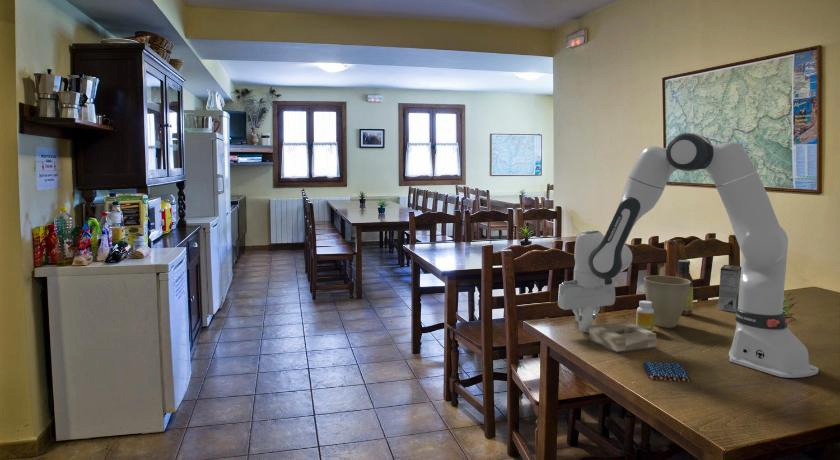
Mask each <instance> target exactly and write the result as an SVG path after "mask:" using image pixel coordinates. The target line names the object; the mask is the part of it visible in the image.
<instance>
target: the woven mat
mask: <svg viewBox="0 0 840 460" xmlns="http://www.w3.org/2000/svg"><path fill="white" fill-rule="evenodd" d="M642 368H643V369H644V372H645V373H646V374H647V377H648V378H649V379H650V380H653V379H655V380H664V381H667V379H668V381H673V382H674V381H678V382H680V381H682V382H690V380H692V379H691V376H689V373H688V372H687V371H686V369H685V368H684V367H683V365H682V364H681V363H670V362H668V363H667V362H659V361H658V362H653V361H651V362H650V361H644V362H642Z"/></svg>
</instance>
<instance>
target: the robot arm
mask: <svg viewBox="0 0 840 460" xmlns="http://www.w3.org/2000/svg"><path fill="white" fill-rule="evenodd" d="M698 170H706V172H708V173H709V175H710V177H711V178H712V180H713V184H714V185H715V187H716V190H717V192H718V195H719V197H720V199H721V201H722V203H723V206H724V208H725V210H726V213H727V215H728V219H729V223H730V224H731V225H730V226H731V227H732V230H733V232H734V236H735V239H736V241H737V244H738V246H739V249H740V251H741V253H742V259H741V260H742V261H741V266H740V267H741V275H740V284H739V300H738V307H737V308H736V312H735V319H734V320H735V321H736V325H735V331H734V336H733V340H732V343H731V346H730V349H729V352H728V356H729V362H731V363H733V364H737V365H740V366H744V367H746V368H749V369H753V370H757V371H760V372H763V373H767V374H768V375H769V374H770V375H773V376H776V377H780V378H789V379H790V378H794V379H796V378H806V377H811V376H815V375H817V374H819V367H817V366H815V365H813V364H810V357H809V356H810V355H809V351H808V348H807V346H805V344H804V343H802V342H801V340H800V339H799V338H797V337H796V336H795V335H794V333H793V332H792V331H791V330H790V329H789V327H788V324H791V320H792V318H786V315H785V313H784V295H785V285H786V284H785V283H786V282H785V281H786V273H787V272H786V270H787V258H788V246H789V237H788V235H787V232H786V230H785V229H784V228H783V227H781V225H780V223H779V221H778V218H777V216H776V214H775V211H774V208H773V206H772V203H771V201H770V200H771V199H770V197H769V195H768V193H767V190H766V188H765V187H764V186H765V185H764V184H763V182H762V180H761V177H760V175H759V173H758V172H757V169H756V166H755V165H754V162H753V161H752V159H751V158H750V156H749V154H748V153H747V151H746V150H745V148H744V147H743V146H742V145H741V144H740V143H738V142H734V141H725V142H723V143H719V144H712V143H711V141H710V139H708V138H707V137H705V136H703V135H702V134H699V133H695V132H686V133H685V132H683V133H680V134H677V135H676V136H674V137H673V138H672V139H670V140H669V143H668V144H667V146H666V147H661V146H653V145H652V146H647V147H646V148H644V149H643V150H642V151H641V153H640V154H639V155H638V158H637V159H636V161H635V162H634V164H633V166H632V169H631V170H630V173H629V175H628V177H627V180H626V183H625V185H624V187H623V192H622V194H621V197H620V201H619V202H618V203H619V204H618V206H617V208H616V211H615V214H614V216H613V218H612V220H611V222H610V224H609V225H608V228H607V230H606V231H605V232H606V233H605V235H604V234H603V233H602V232H601V231H599V230H590V231H589V230H588V231H584V232H583V231H582V232H580V233H579V234H578V235H577V236H576V238H575V244H574V255H573V258H574V268H573V280H569V281H568V280H564V281H563V282H562V283H561V284H560V285H559V290H558V291H559V292H558V299H557V306H558V307H559V308H560V309H562V310H564V311H566V310H571V311H572V312H573V314H574V320H575V322H579V321H582V316H580V315H579V311H580V308H586V306H591V305H593V321H594V320H597V319H598V314H599V312H600V310H601V307H606V306H613V305H614V304H615V302H616V288H615V286H614V284H615V278H614V277H616V276H617V275H618V274H620V273H622V272H623V271H625V270H626V269H628V268H629V267H630V266H631V264H632V262H633V258H634V257H633V256H634V255H633V251H632V250H631V248H630V247H629V246H628V245H626V242H627V240H628V238H629V236H630V235H631V232H632V230H633V228H634V226H635V225H636V224H637V222H638V221H639V220H640V219H641V218H642V217H643V216H644V215H645V214H646V213H649V212H650V211H652V210H653V209H654V207H655V206H656V205H657V203H658V202H659V200H660V199H661V197H662V195H663V193H664V190H665V189H666V186H667V183H668V181H669V179H670V177H671V176H672V174H674V172H675V171H682V172H683V171H684V172H695V171H698Z"/></svg>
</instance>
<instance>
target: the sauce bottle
mask: <svg viewBox="0 0 840 460" xmlns="http://www.w3.org/2000/svg"><path fill="white" fill-rule="evenodd" d="M677 264H678V267H677V268H678V270H677V272H678V273H676V276H675V277H679V278H684V279H687V280H689V281H691V284H690V288H689V293H688V296H687V300H686V303H685V306H684V309H683V311H682V314H681V315H683V316H690V315H692V314H693V309H694V307H693V306H694V284H693V283H694V279H693V277H692V275H691V273H690V272H691V271H690V265H691V261H690V260H687V259H679V260H678V261H677Z"/></svg>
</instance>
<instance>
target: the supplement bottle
mask: <svg viewBox="0 0 840 460" xmlns="http://www.w3.org/2000/svg"><path fill="white" fill-rule="evenodd" d="M638 302H639V303H638V304H639V306H638V307H637V309H636V319H635V320H636V322H635V325H636V326H638V327H641V328H643V329H646V330H648V331H651V332H653V331H654V324H653V322H654V310H653V309H652V308H651V307H652V302H650V301H647V300H639V301H638Z"/></svg>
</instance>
